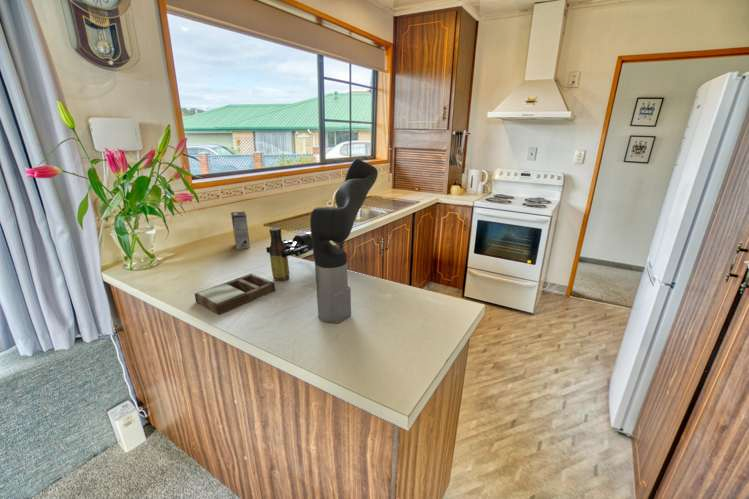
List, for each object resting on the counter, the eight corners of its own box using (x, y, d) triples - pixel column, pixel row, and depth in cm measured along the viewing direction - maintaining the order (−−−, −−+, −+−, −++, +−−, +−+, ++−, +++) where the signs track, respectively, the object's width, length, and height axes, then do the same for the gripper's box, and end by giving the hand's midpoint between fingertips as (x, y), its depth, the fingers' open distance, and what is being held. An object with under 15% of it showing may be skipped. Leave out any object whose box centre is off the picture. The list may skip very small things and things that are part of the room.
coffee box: (235, 243, 170) (230, 212, 165) (248, 242, 173) (245, 211, 167) (236, 249, 162) (231, 216, 157) (250, 247, 165) (246, 215, 159)
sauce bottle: (282, 273, 134) (277, 225, 128) (293, 277, 131) (288, 227, 124) (268, 279, 129) (263, 228, 123) (279, 283, 126) (274, 231, 119)
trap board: (275, 290, 120) (274, 282, 119) (218, 314, 104) (217, 305, 103) (251, 280, 128) (250, 272, 127) (196, 301, 112) (194, 292, 111)
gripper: (294, 229, 140) (261, 239, 128) (319, 235, 132) (285, 246, 120) (296, 247, 143) (263, 258, 130) (320, 254, 134) (287, 266, 122)
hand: (274, 252), depth 125 cm, fingers open, 8 cm apart
